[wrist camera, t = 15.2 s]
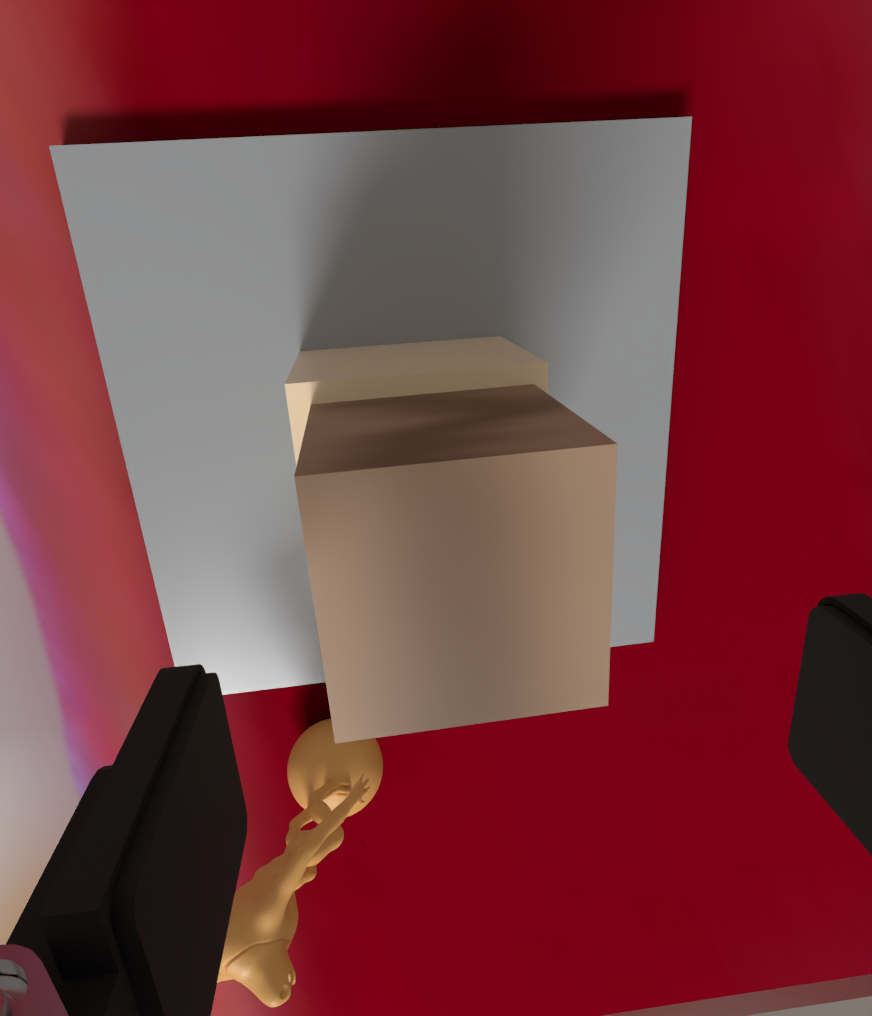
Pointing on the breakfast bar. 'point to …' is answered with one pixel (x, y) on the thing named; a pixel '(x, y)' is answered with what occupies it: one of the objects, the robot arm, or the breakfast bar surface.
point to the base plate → (366, 333)
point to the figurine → (297, 858)
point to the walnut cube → (457, 558)
